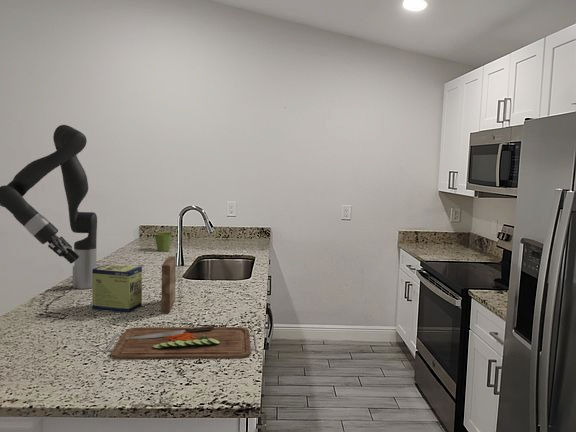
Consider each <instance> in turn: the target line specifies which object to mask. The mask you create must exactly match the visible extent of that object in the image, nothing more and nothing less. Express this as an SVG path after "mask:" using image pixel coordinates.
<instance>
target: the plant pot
mask: <svg viewBox="0 0 576 432" xmlns="http://www.w3.org/2000/svg"><path fill="white" fill-rule="evenodd" d="M153 235H154V237H155V243H156V249H157V252H160V253H161V252H163V253H165V252H170V247H171V241H172V237H173V235H174V233H173V232H155V233H153Z"/></svg>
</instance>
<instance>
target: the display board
mask: <svg viewBox="0 0 576 432" xmlns="http://www.w3.org/2000/svg"><path fill="white" fill-rule="evenodd" d="M176 264H177V256H176V255H172V256H169V255H168V256H167V257H166V259H165V260H164V262H163V263H162V264H161V298H160V299H161V303H160V304H161V307H160V308H161V309H160V310H161V311H160V312H161V314H170V313H171V311H172V309H173V306H174V304H175V301H176V276H177V275H176V273H177V272H176V268H177V265H176Z"/></svg>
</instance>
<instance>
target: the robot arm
mask: <svg viewBox="0 0 576 432" xmlns="http://www.w3.org/2000/svg"><path fill="white" fill-rule="evenodd" d="M52 137H53V144H54V147H55V151H54V152H52V153H50V154H48V155H46V156H45V155H44V156H43V157H40V158H38V159H35V160H33V161H31V162H29V163H28V164H26V165H25V166H24V167H23V168H22V169H21V170H20V171H19V172H17V173H16V175H14V177H13V179H12V180H11V181H9V183H8V184H6V185H1V186H0V207H2V208H5V209H6V210H7V211H9V213H10V214H12V216H13V217H14V218H15V220H16V221H18V223H20V224H21V225H22V226H23V227H24V228H25V229H26V230H27V232H28V233H29V234H30V235H31V236H33V237H34V238H35V239H36V240H37V241H38V242H39V243H41V244H42V245H45V244H46V243H48V245H47V247H48V249H50V250H52V251H53V252H54V253H55V254H56V255H58V256H59V257H61V258H64V259H65V260H66V261H67V262H69V264H74V265H73V266H72V289H80V290H86V289H87V290H88V289H92V269H95V268H97V242H98V241H97V236H98V235H97V234H98V233H97V230H98V217H97V216H98V215H97V214H96V212H93V211H87V212H86V211H79V210H78V208H79V207H80V204H81V203H82V202H83V200H84V199H85V198H86V196H87V195H88V192H89V183H88V182H89V181H88V176H87V174H86V171H85V169H84V167H83V165H82V163H81V162H80V160H79V158H78V155H79V153H81V152H82V151H83V150H84V149H85V147H86V145H87V143H88V142H87V136H86V135H85V134H84V133H83V132H81V131H80V130H78V129H76V128H74V127H72V126H69V125H67V124H61V125H58V126H57V127H56V128H55V130H54V132H53V136H52ZM59 166H60V170H61V174H62V181H63V182H62V183H63V187H64V191H65V196H66V202H67V207H68V220H69V226H70V229H71V231H72V233H74V234H75V233H76V234H87V236H86V237H85V238H83V239H81V240H77V241H75V242H73V246H72V245H71V244H70V243H69V242H68V241H67V240H66V239H65V238H64V237H63V236H58V235H57V234H58V233H59V229H58V227H56V226H55V225H54V224H53V223H51V221H49V220H48V218H46V217H45V216H44V215H42V214H41V213H40V212H38V210H37V209H36V208H34V207H33V206H32V205H31V204H30V203H28V201H26V199H25V198H24V196H25V195H26V194H27V193H28V192H29V191H30V190H31V189H32V188H34V186H36V185H37V184H38V183H39V182H40V181H41V180H42V179H43V178H45V177H46V176H47V175H48V174H49V173H51V172H52V171H54V170H55V169H57V168H58V167H59Z"/></svg>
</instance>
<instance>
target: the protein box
mask: <svg viewBox="0 0 576 432" xmlns="http://www.w3.org/2000/svg"><path fill="white" fill-rule="evenodd" d="M91 289H92V291H91V293H92V294H91V295H92V296H91V297H92V298H91V299H92V305H91V309H92V310H99V311H106V312H107V311H109V312H120V313H127V314H128V313H130V312H132V311H134V310H136V309H138V308H141V307H142V306H143V303H142V302H143V266H135V265H134V266H133V265H120V264H118V265H117V264H105V265H102V266H101V265H100V266H97V267H96V268H95V269H92V288H91Z"/></svg>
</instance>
